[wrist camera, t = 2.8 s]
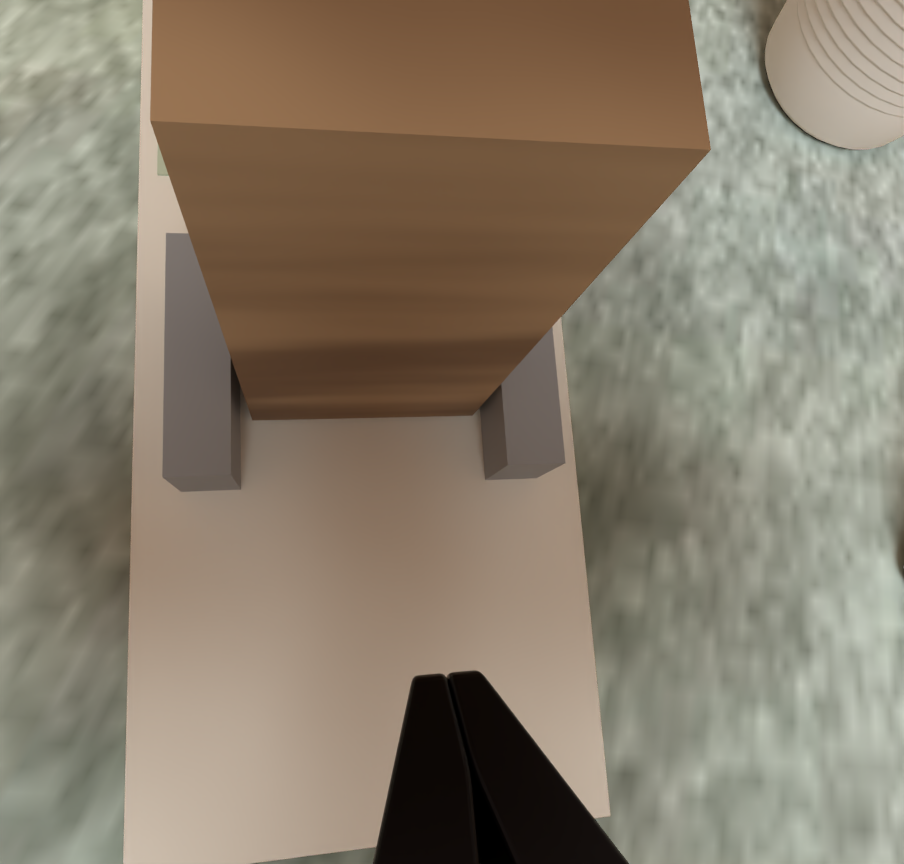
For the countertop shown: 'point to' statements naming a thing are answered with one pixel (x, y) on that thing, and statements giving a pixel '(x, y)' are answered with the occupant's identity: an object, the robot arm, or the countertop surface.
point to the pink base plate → (328, 580)
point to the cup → (840, 69)
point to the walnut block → (413, 180)
